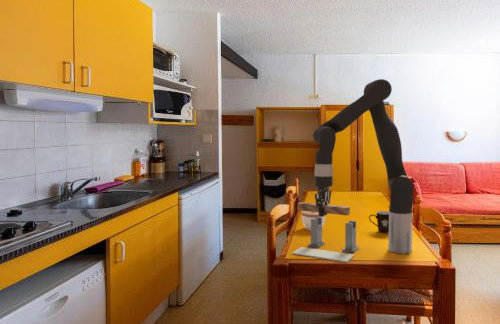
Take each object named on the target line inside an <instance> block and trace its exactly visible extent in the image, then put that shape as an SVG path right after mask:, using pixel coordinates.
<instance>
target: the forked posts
mask: <svg viewBox="0 0 500 324" xmlns="http://www.w3.org/2000/svg"><path fill="white" fill-rule="evenodd" d="M344 226H345V228H344V229H345V234H344V238H345V240H344V243H345V244H344V247H343V248H342V249H341V250H342V251H341V253H348V254H354V253H356V252H357V251H358V250H359V248H360V247H359V246H357V221H356V220H348V222H345V225H344ZM324 245H325V241H323V227H322V218H321V217H315V219H311V231H310V243H308V244H307V248H314V247H315V248H314V249H319V248H321V247H322V246H324Z"/></svg>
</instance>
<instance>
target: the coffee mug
mask: <svg viewBox="0 0 500 324" xmlns="http://www.w3.org/2000/svg"><path fill="white" fill-rule="evenodd" d="M373 216H374V217H375V219H376V222H377V224H376V223H375V222H373V221H372V220H371V217H373ZM368 219H369V221H370V222H371V223H372V224H373V225H375V226H376V227H377V232H378V233H381V234H389V210H388V211H386V210H382V211H376V214H369V216H368Z"/></svg>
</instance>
